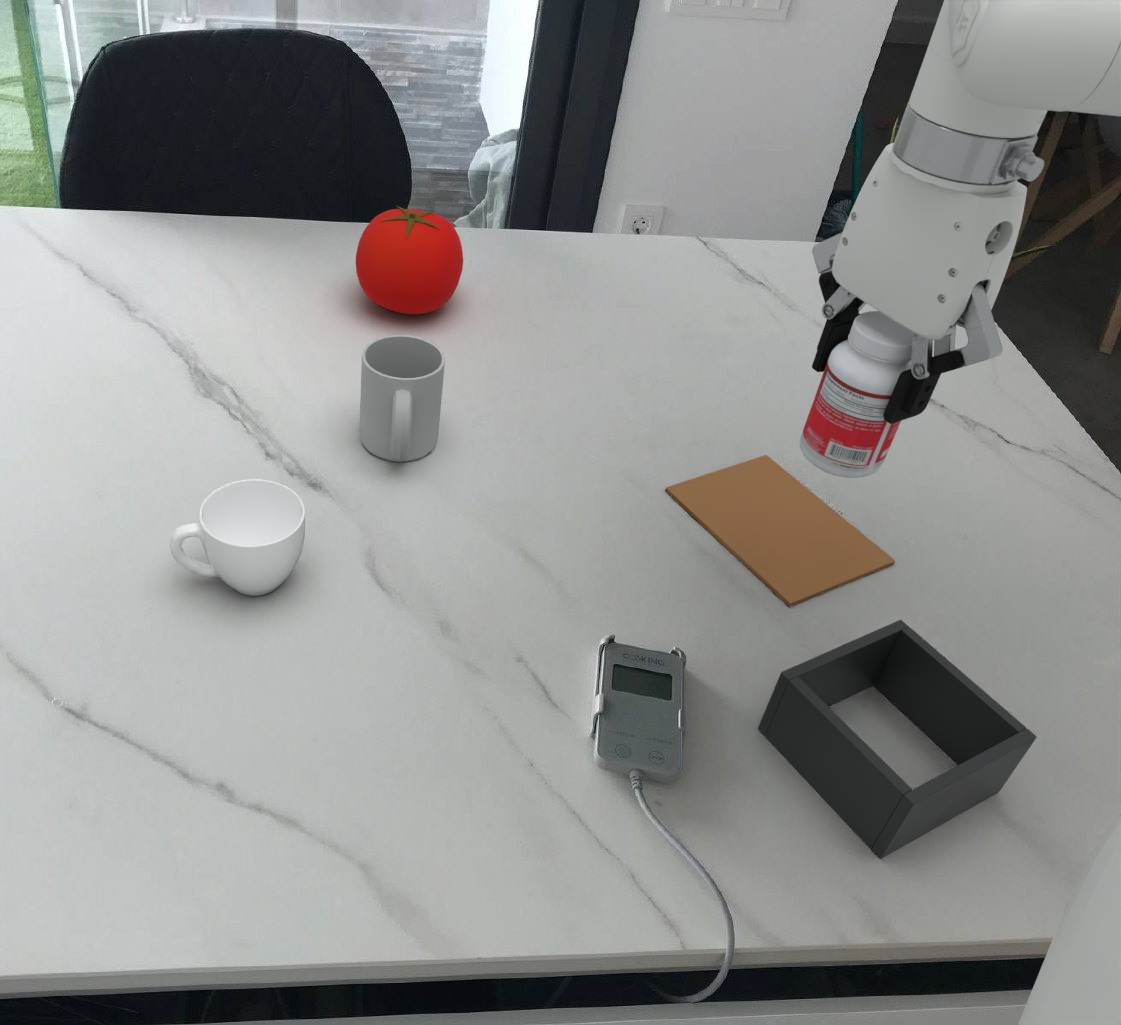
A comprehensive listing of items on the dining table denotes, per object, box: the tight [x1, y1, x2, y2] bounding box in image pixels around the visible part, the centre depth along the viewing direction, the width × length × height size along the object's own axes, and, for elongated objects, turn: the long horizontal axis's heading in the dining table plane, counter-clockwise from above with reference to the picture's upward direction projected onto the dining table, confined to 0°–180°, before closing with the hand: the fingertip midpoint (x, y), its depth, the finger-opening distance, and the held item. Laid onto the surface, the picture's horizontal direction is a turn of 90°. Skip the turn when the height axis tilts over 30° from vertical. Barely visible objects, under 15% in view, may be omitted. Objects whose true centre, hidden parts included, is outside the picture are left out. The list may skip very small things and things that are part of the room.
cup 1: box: [170, 478, 306, 597], centre depth 82 cm, size 8×10×7 cm
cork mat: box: [664, 454, 896, 607], centre depth 93 cm, size 16×12×1 cm
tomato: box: [355, 205, 464, 315], centre depth 115 cm, size 11×12×10 cm
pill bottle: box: [799, 310, 912, 479], centre depth 77 cm, size 6×6×11 cm
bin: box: [757, 619, 1038, 860], centre depth 73 cm, size 12×12×6 cm
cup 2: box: [358, 334, 446, 463], centre depth 95 cm, size 7×10×9 cm
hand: (864, 389), depth 77 cm, fingers closed on pill bottle, 6 cm apart
